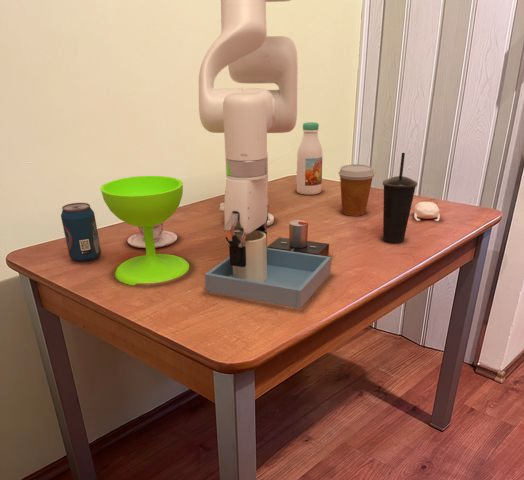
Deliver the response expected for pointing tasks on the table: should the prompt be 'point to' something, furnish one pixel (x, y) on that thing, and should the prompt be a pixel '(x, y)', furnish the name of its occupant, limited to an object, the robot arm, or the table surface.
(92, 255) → the soda can
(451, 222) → the table surface
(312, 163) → the milk bottle
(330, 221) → the table surface
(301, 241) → the control knob
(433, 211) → the frog figurine
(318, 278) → the tray
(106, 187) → the wineglass
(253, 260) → the cup
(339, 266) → the table surface
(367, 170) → the disposable coffee cup
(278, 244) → the black dial panel
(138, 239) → the teacup
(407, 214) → the drinking cup
